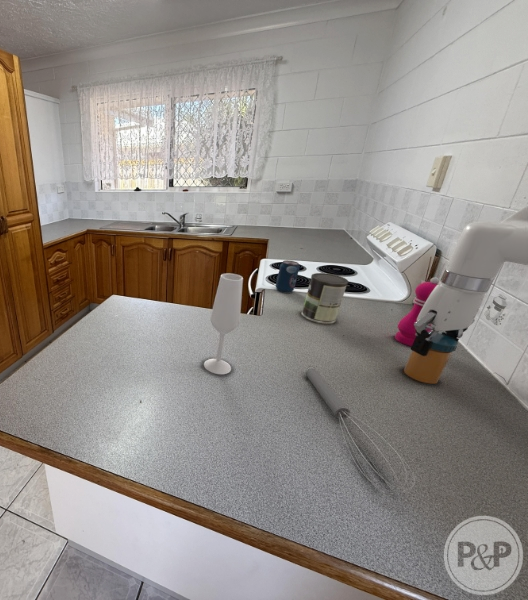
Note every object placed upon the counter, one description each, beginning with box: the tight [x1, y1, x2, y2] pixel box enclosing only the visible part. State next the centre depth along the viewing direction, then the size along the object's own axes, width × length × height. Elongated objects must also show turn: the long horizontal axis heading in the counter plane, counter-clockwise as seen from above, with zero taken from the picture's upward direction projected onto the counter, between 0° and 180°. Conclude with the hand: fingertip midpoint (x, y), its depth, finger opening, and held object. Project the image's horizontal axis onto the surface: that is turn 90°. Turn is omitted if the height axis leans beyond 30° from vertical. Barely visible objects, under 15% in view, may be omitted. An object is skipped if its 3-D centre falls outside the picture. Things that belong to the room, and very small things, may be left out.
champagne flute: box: [203, 273, 244, 375], centre depth 74 cm, size 7×7×24 cm
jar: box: [403, 349, 453, 385], centre depth 75 cm, size 6×6×10 cm
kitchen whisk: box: [305, 365, 416, 497], centre depth 61 cm, size 6×34×6 cm, turn 172°
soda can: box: [275, 259, 300, 294], centre depth 126 cm, size 7×7×12 cm
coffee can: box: [301, 272, 349, 325], centre depth 103 cm, size 10×10×14 cm
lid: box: [427, 331, 459, 353], centre depth 73 cm, size 7×7×2 cm
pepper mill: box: [394, 276, 440, 347], centre depth 88 cm, size 7×7×20 cm
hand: (430, 350), depth 74 cm, fingers closed on lid, 6 cm apart
